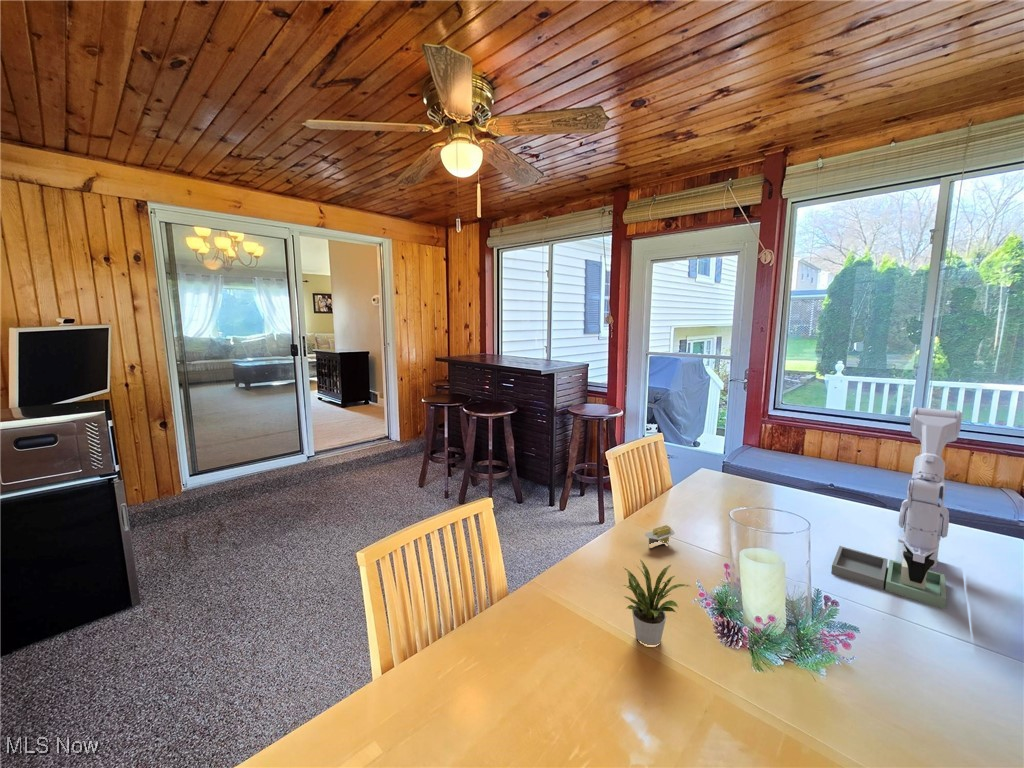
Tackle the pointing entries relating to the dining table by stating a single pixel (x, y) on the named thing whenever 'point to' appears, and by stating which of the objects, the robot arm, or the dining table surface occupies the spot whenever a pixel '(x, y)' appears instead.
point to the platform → (660, 534)
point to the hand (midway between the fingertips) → (915, 577)
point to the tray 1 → (860, 567)
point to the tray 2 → (930, 595)
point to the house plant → (650, 606)
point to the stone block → (906, 579)
